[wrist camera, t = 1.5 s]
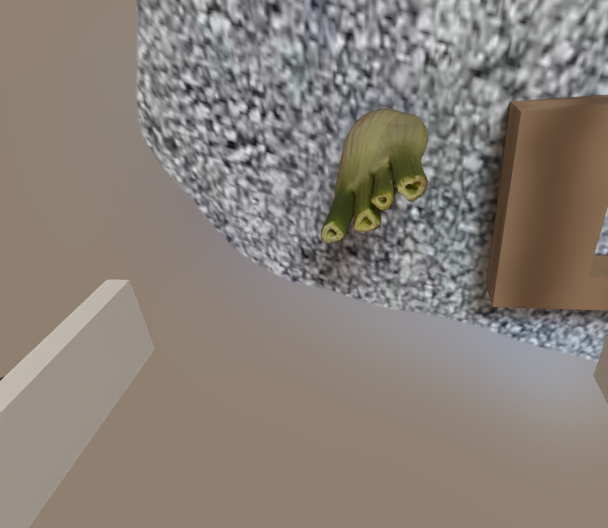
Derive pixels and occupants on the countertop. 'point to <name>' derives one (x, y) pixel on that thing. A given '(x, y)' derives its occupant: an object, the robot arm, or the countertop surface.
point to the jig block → (552, 206)
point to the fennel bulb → (376, 170)
